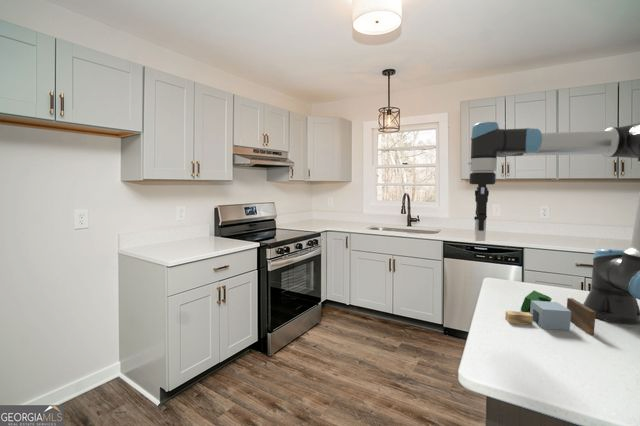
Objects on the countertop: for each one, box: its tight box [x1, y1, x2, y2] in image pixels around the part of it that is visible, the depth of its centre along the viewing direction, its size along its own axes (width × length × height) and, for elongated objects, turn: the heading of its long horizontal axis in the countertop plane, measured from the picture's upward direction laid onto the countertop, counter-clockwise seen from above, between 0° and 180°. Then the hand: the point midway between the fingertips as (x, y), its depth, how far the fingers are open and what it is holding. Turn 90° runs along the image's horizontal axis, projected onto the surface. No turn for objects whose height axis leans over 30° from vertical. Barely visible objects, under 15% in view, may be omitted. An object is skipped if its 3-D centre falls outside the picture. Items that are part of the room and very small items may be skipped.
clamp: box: [520, 290, 553, 313], centre depth 118 cm, size 12×6×9 cm
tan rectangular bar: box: [504, 310, 534, 325], centre depth 109 cm, size 7×3×3 cm, turn 80°
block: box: [529, 300, 571, 331], centre depth 107 cm, size 8×8×6 cm
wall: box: [566, 297, 596, 335], centre depth 106 cm, size 2×12×7 cm, turn 171°
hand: (479, 237), depth 109 cm, fingers open, 13 cm apart
